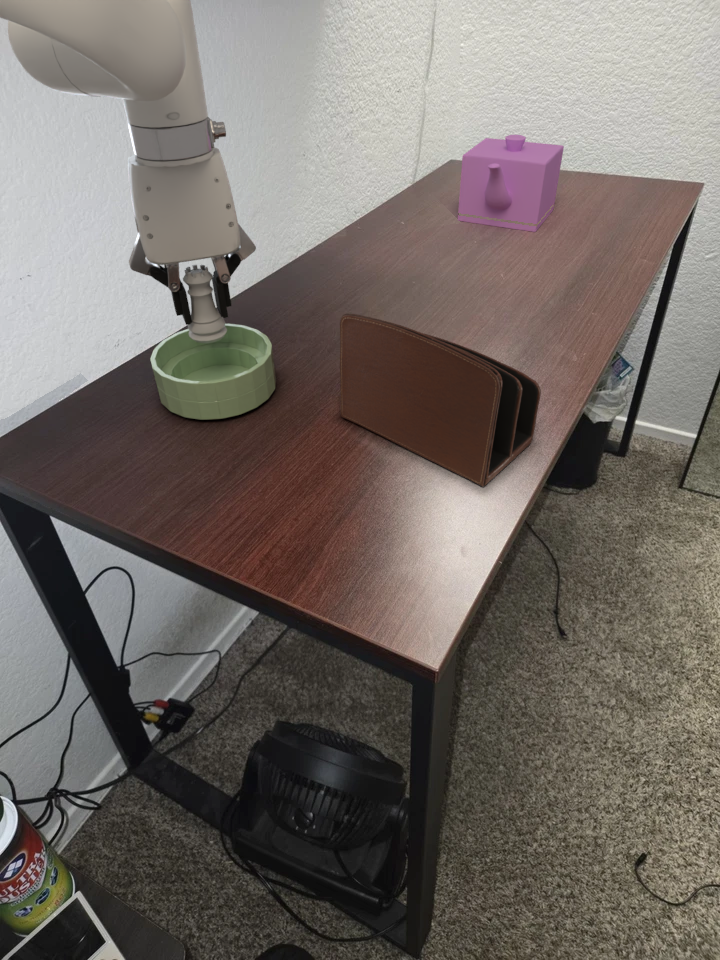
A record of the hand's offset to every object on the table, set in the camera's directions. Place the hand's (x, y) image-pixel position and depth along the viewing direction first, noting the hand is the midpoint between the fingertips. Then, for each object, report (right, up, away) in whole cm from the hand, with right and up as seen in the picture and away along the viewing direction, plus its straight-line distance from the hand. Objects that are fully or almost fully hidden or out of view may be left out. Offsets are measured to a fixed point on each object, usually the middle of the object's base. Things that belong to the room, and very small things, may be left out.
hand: (204, 314), depth 75 cm
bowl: (0, -8, +7) cm, 10 cm away
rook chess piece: (0, -2, +2) cm, 3 cm away
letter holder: (+26, -13, 0) cm, 29 cm away
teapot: (+46, +32, +52) cm, 76 cm away
